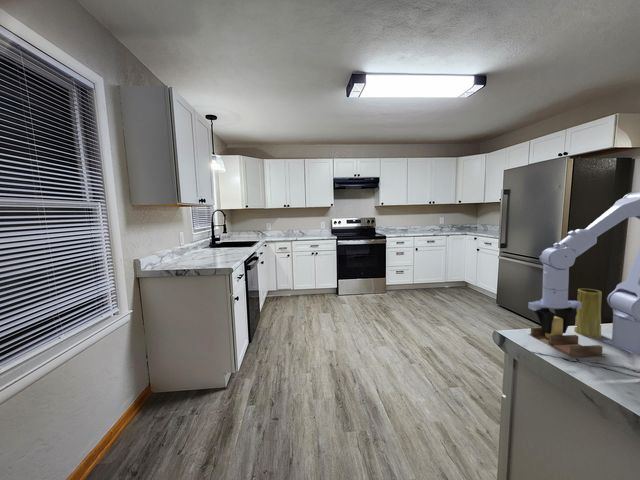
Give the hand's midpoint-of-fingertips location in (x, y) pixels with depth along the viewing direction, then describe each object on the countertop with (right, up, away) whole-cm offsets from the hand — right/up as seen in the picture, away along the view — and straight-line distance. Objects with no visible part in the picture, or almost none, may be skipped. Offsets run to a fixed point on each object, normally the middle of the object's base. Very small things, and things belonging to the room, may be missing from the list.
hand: (553, 332), depth 80 cm
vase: (+14, -2, +4) cm, 15 cm away
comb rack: (0, -3, -3) cm, 4 cm away
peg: (0, -2, 0) cm, 2 cm away
